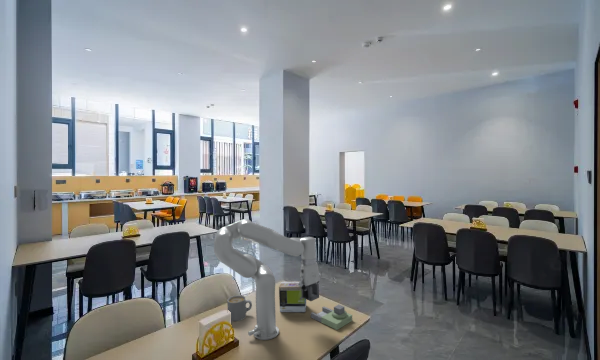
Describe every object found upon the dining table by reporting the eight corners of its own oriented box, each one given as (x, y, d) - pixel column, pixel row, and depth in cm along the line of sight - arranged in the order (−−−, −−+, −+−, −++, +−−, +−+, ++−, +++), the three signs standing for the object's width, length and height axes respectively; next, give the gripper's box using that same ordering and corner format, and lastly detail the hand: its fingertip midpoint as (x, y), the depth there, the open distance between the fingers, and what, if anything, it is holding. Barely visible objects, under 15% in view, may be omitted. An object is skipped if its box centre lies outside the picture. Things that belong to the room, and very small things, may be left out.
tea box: (306, 305, 170) (305, 280, 170) (305, 313, 160) (304, 287, 160) (282, 304, 172) (281, 280, 172) (279, 312, 162) (278, 286, 162)
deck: (336, 330, 141) (336, 315, 141) (310, 317, 155) (310, 304, 154) (352, 320, 150) (352, 306, 150) (326, 309, 163) (326, 296, 163)
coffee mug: (226, 321, 152) (226, 303, 152) (229, 313, 162) (228, 296, 162) (251, 319, 154) (251, 301, 154) (252, 311, 164) (251, 294, 164)
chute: (311, 301, 142) (310, 287, 142) (301, 297, 147) (301, 284, 147) (319, 297, 146) (318, 284, 146) (309, 293, 151) (309, 280, 151)
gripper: (301, 266, 138) (303, 303, 138) (325, 258, 149) (326, 292, 149) (291, 263, 143) (293, 298, 143) (315, 256, 155) (316, 288, 155)
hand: (310, 295), depth 146 cm, fingers closed on chute, 6 cm apart
